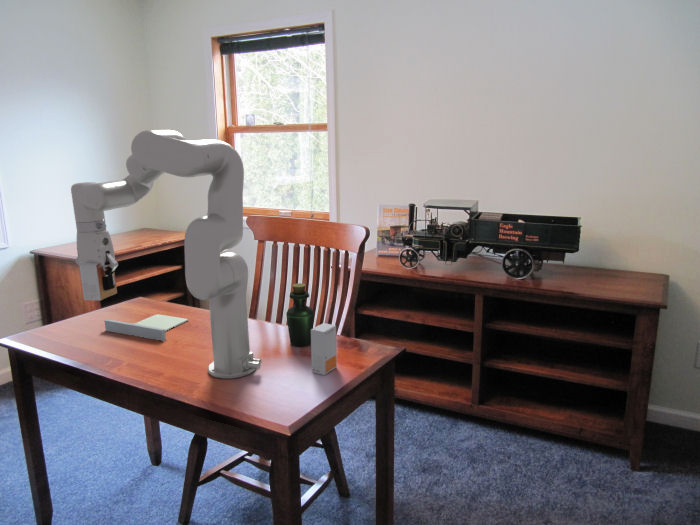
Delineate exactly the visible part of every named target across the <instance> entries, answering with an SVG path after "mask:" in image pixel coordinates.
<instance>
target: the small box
mask: <svg viewBox="0 0 700 525" xmlns="http://www.w3.org/2000/svg"><path fill="white" fill-rule="evenodd" d="M105 265H106V263H105ZM78 268H79V273H80V279H81V280H80V282H81V289H82V295H83V300H84V301H103V300H104V299H107V298H109V297H111V296H114V295H116V294H118V288H117V281H116V275H115V273H116V272H115V271H114V275H112V276H113V283H114V288H113V289H110V290H107V291H105V290H104V288H103V281H102V277H104V276H103V274H102V272H101V268H100V267H99V264H93V263H84V264H80V265H79V266H78ZM105 270H106V271H107V268H105Z"/></svg>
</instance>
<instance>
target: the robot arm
mask: <svg viewBox="0 0 700 525" xmlns="http://www.w3.org/2000/svg"><path fill="white" fill-rule="evenodd" d="M130 150H131V155H129V156H128V158H126V162H125V165H126V167H125V168H126V170H127V172H128V175H127V176H125V178H123V179H121V180H112V181H105V182H103V181H102V182H92V181H91V182H77V183H74V184H72V185H71V186H70V194H71V200H72V206H73V212H74V220H75V227H76V252H77V257H76V258H75V260H74V262H75V263H76V264H77V265H78V267H79V265H80V264H84V263H93V264H99V267H100V268H101V272H102V274H103V276H104V277H102V281H103V288H104V290H105V291H107V290H110V289H113V288H114V283H113V276H112V275H114V272H115V271H116V269H117V268H118V266H119V262H118V261H116V255H115V250H114V245H113V241H112V238H111V235H110V232H109V230H107V224H106V218H105V211H106V212H107V211H110V210H114V209H115V210H116V209H120V208H125V207H126V208H127V207H130V206H132V205H134V204H136V203H138V202H139V201H140V200H142V199H143V198H145V197H146V196H147V195H148V194H149V193H151V191H152V189H153V186H154V184H155V181H156V180H158V179H159V178H160V177H162V175H164V174H165V173H166V174H169V175H172V176H176V177H181V178H186V179H187V178H196V177H202V176H208V175H210V176H212V180H211V182H210V185H209V189H208V191H207V213H206V215H201V216H198V217H197V218H195V219H193V220H192V221H191V222H190V223H189V224H188V226H187V228H186V230H185V234H184V275H185V281H186V282H185V283H186V286H187V290H188V291H189V293H190V294H191V296H193V297H194V298H196V299H197V300H200V301H209V321H210V329H211V330H210V332H211V333H210V334H211V343H212V345H211V346H212V355H213V356H212V358H213V361H212V362H211V363H209V365H208V366H207V369H208V370H207V371H208V374H209V375H210V376H212V377H214V378H218V379H228V380H229V379H238V378H242V377H244V376H247V375H250V374H252V373H253V372H255V371H256V370H257V371H259V370H260V369H261V364H262V362H263V361H262V359H261V358H255V357H254V351H251V348H250V332H249V320H248V302H247V300H248V299H247V298H248V297H247V296H248V294H247V292H248V285H249V284H248V282H249V267H248V264H247V261H246V260H245V259H244V258H243V257H242V256H241V255H240V254H238V253H236V252H231V251H228V250H230V249H233V248H235V247H237V246H238V245H239V244H240V243H241V242H242V240H243V235H244V201H243V200H244V198H243V197H244V178H245V168H244V163H243V160H242V157H241V156H240V154H239V153H238V151H237V150H236V149H235V148H234V147H233V146H232V145H231V144H229V143H227V142H225V141H222V140H220V139H219V140H218V139H195V140H187V139H186V137H184V136H183V134H181V133H180V132H178V131H176V130H171V129H146V130H142V131H140V132H139V133H137V134H136V135H135V136H134V138H133V139H132V141H131V146H130ZM225 251H226V252H225ZM227 251H228V252H227ZM222 252H223V253H222ZM105 263H106V265H105ZM105 268H107V271H106V270H105Z"/></svg>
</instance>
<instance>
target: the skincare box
mask: <svg viewBox="0 0 700 525" xmlns="http://www.w3.org/2000/svg"><path fill="white" fill-rule="evenodd" d="M310 347H311V348H310V353H311V354H310V356H311V372H312V373H314V374H318V375H322V376H325V375H327V374H328V373H330V372H332V371H333V370H334V369H336V368H337V325H335V324H331V323H326V322H323V323H321V324H319V325H316V326H315V327H313V329H311V344H310Z"/></svg>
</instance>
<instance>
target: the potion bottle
mask: <svg viewBox="0 0 700 525" xmlns="http://www.w3.org/2000/svg"><path fill="white" fill-rule="evenodd" d="M292 289H293V291H290V294H289V296H288V297H289V299H292V301H293V304H294V305H293V306H292V307H290V308H288V309H287V311H286V321H287V330H288V336H289V342H290V343H289V344H291V346H293V347H297V348H305V347H308V346H311V329H313V328H314V314H315V313H314V310H313V308H311V306H308V305H306V299H308V298H310V293H309V291H307V290H306V284H305V283H301V282H300V283H294V284H292Z"/></svg>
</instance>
